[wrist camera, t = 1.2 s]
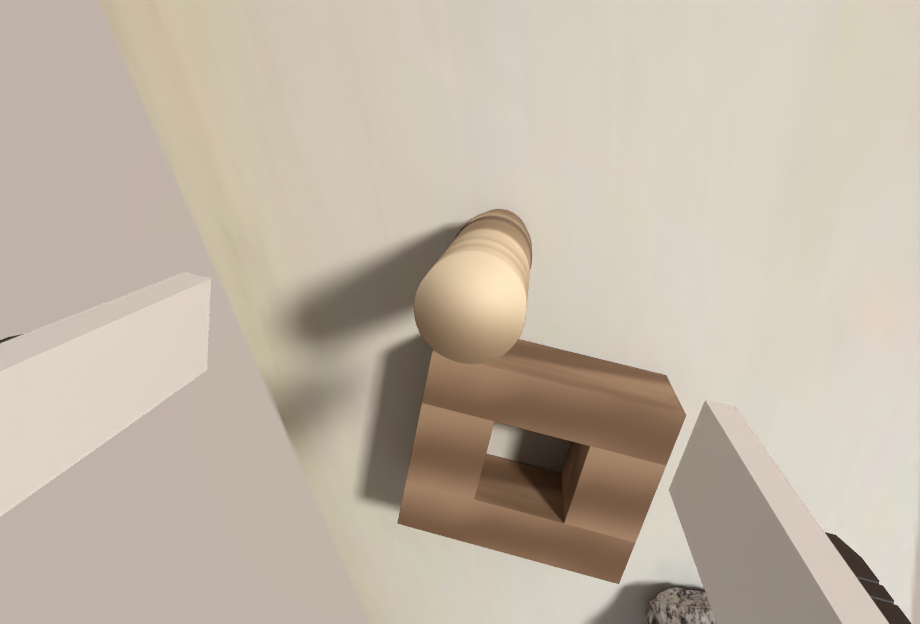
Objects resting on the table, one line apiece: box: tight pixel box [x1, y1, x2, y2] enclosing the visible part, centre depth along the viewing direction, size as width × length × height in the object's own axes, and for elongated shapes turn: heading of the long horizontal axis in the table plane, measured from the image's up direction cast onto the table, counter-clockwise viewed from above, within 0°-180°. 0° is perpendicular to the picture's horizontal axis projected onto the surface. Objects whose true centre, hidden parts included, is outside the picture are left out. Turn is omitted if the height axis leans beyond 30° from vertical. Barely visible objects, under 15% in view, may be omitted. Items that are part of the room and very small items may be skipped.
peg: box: [414, 209, 532, 364], centre depth 26 cm, size 4×4×14 cm
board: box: [397, 339, 686, 584], centre depth 34 cm, size 12×14×5 cm
